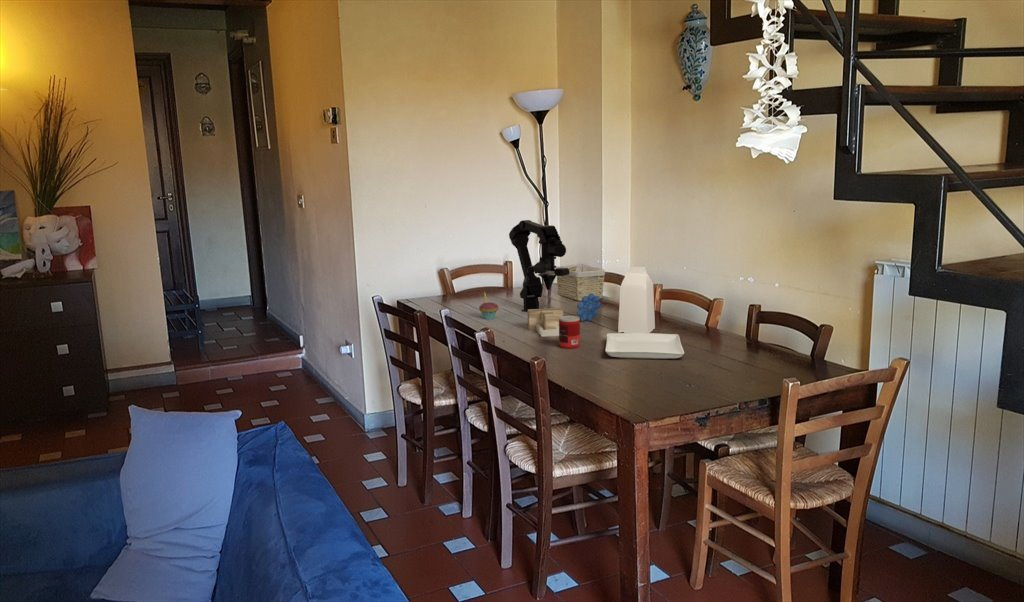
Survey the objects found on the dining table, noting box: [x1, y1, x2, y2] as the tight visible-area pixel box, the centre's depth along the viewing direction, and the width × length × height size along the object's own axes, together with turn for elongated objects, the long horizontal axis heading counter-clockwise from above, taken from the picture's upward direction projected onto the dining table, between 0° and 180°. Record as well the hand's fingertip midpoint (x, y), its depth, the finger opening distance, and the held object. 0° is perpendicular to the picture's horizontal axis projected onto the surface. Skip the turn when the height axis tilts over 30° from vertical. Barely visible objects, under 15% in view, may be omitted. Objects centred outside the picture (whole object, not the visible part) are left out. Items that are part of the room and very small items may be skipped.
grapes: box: [576, 293, 602, 322], centre depth 325 cm, size 12×7×12 cm, turn 114°
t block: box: [527, 307, 564, 331], centre depth 308 cm, size 14×14×8 cm
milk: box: [617, 265, 656, 333], centre depth 305 cm, size 12×12×26 cm
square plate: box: [605, 332, 685, 360], centre depth 276 cm, size 27×27×4 cm
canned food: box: [558, 315, 581, 350], centre depth 283 cm, size 8×8×11 cm
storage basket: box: [555, 263, 606, 302], centre depth 379 cm, size 24×16×15 cm
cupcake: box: [479, 291, 499, 320], centre depth 335 cm, size 9×8×12 cm
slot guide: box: [535, 324, 559, 337], centre depth 306 cm, size 12×8×2 cm
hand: (548, 289), depth 334 cm, fingers closed
